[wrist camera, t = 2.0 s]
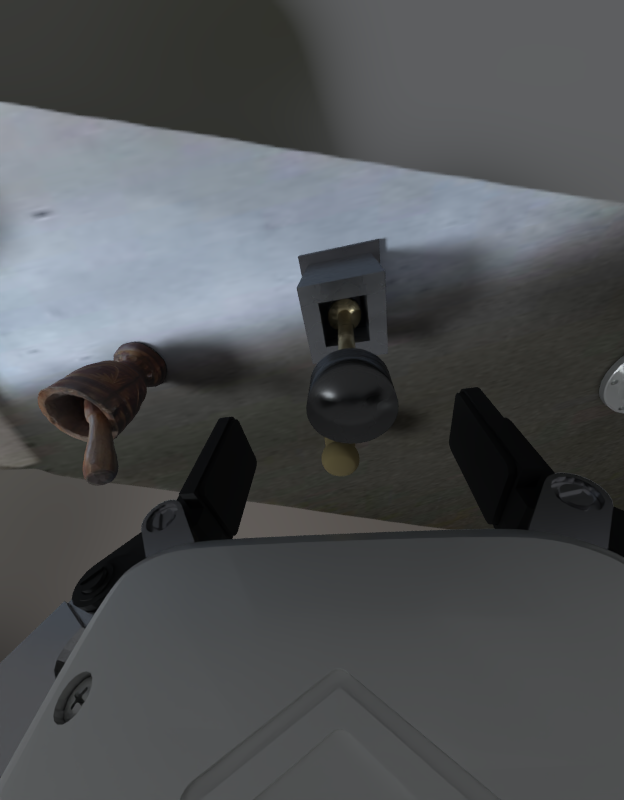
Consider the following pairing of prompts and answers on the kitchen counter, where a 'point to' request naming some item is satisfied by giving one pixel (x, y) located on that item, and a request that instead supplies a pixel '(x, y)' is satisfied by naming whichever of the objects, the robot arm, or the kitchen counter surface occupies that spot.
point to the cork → (340, 458)
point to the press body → (344, 296)
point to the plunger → (350, 385)
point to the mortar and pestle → (102, 404)
